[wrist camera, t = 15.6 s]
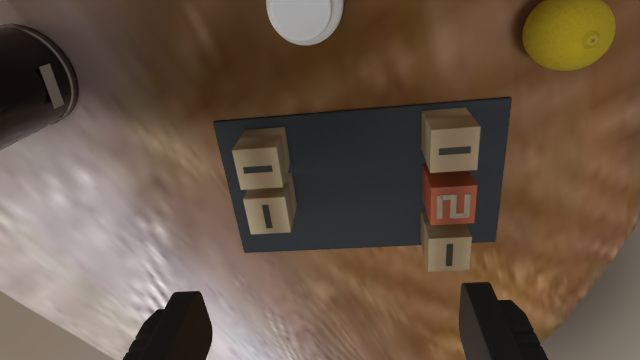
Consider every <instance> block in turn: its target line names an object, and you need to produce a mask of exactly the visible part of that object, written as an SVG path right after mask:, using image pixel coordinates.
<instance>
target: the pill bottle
mask: <svg viewBox="0 0 640 360" xmlns="http://www.w3.org/2000/svg"><path fill="white" fill-rule="evenodd" d="M344 1H345V0H266V6H267V13H268V16H269V19H270V22H271V24H272V25H273V27H274V29H275V30H276V31H277V32H278V33H279V34H280V35H281V36H282V37H283V38H284V39H286V40H287V41H289V42H291V43H294V44H298V45H314V44H317V43H320V42H322V41H323V40H325V39H326V38H328V37H329V36H330V35H331V34H332V33H333V32H334V30H335V29H336V28H337V26H338V24H339V22H340V19H341V16H342V13H343V8H344Z"/></svg>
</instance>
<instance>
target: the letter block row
mask: <svg viewBox="0 0 640 360" xmlns="http://www.w3.org/2000/svg"><path fill="white" fill-rule="evenodd" d="M480 130H481V126H480V125H479V124H478V123H477V121H476V120H475V119H474V118H473V116H472V115H471V114H470V113H469V111H468V110H467V109H466V108H453V109H440V110H428V111H422V121H421V150H422V153H423V156H424V158H425V161H426V163H427V166H428V169H429V171H430V173H437V172H453V171H468V170H477V167H478V155H479V142H480ZM420 242H421V246H422V250H423V254H424V258H425V262H426V266H427V270H428V271H456V270H469V267H470V255H471V242H472V236H471V234H470V232H469V229H468V227H467V225H466V224H448V225H430V223H429V220H428V216H427V213H426V211H421V229H420Z"/></svg>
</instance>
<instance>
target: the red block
mask: <svg viewBox="0 0 640 360" xmlns="http://www.w3.org/2000/svg"><path fill="white" fill-rule="evenodd" d="M476 197H477V184H476V182H475V181H474V179H473V177H472V175H471V173H470V172H469V170H468V171H453V172H437V173H430V171H429V169H428V166H427V164H422V200H423V203H424V206H425V210H426V213H427V216H428V220H429V223H430V225H448V224H467V223H474V222H475V209H476Z"/></svg>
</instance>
